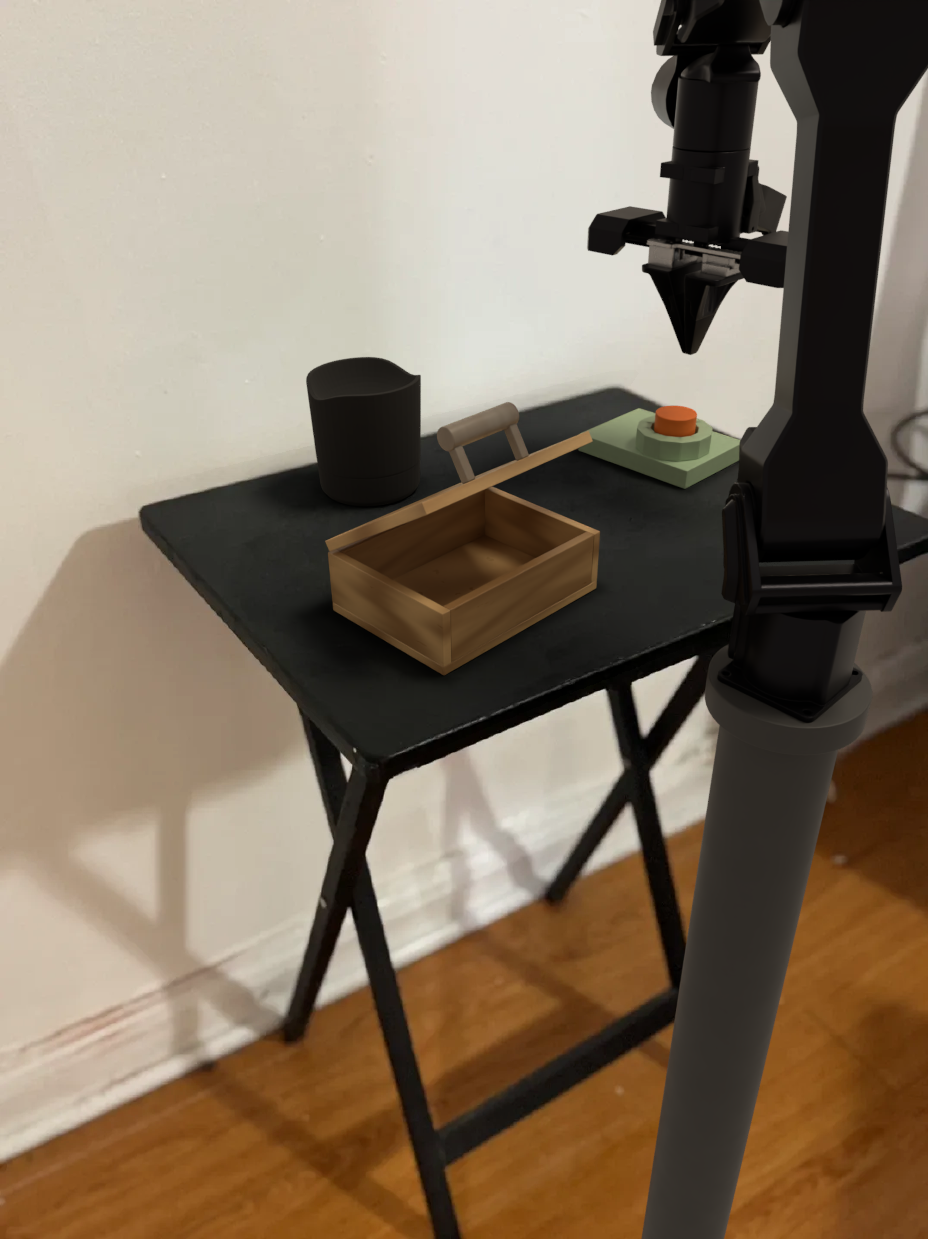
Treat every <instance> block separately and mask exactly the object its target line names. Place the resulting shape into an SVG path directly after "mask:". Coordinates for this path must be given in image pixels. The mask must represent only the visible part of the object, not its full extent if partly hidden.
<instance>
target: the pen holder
mask: <svg viewBox="0 0 928 1239" xmlns="http://www.w3.org/2000/svg"><path fill="white" fill-rule="evenodd" d="M305 383H306V384H305V385H306V390H307V391H306V392H307V397H308V405H309V412H310V413H309V414H310V420H311V421H310V422H311V428H312V435H313V443H314V449H315V457H316V462H317V469H318V474H319V475H318V477H319V482H320V487H321V489H322V491H323V493H325V495H327V496H328V498H330V499H332V500H333V501H335V502H337V503H340V504H343V505H348V506H355V507H378V506H385V505H389V504H393V503H397V502H399V501H402V500H405V499H406V498H408V497H409V496H411V495H412V494H413V493H414V492H415V491H416V490H417V488H418V487H419V485H420V482H421V456H422V455H421V454H422V450H421V447H422V445H421V443H422V441H421V440H422V439H421V438H422V437H421V436H422V434H421V433H422V432H421V431H422V430H421V429H422V426H421V424H422V422H421V421H422V415H421V414H422V394H421V393H422V376H421V374H413V373H410V372H409V371H407V370H406V369H404V368H403V367H401V366H399V365H398V364H397V363H395V362H392V361H391V360H388V359H385V358H382V357H376V356H359V357H358V356H357V357H349V358H341V359H336V360H332V361H329V362H326V363H323V364H321V365H318V366H316V367H313V369H311V370H310V371H309V372H308V373H307V375H306V378H305Z"/></svg>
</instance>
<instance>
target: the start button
mask: <svg viewBox="0 0 928 1239" xmlns="http://www.w3.org/2000/svg"><path fill="white" fill-rule="evenodd" d="M654 413H655V424H654V431H655V433H658V434H661V435H664V436H672V437H686V436H692V435H694V433H695V428H696V420H697V419H698V413H697V411H696V410H694V409H693V408H691V407H687V406H683V405H664V406H661V407H659V408H657V409H656V410H655V412H654Z"/></svg>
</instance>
